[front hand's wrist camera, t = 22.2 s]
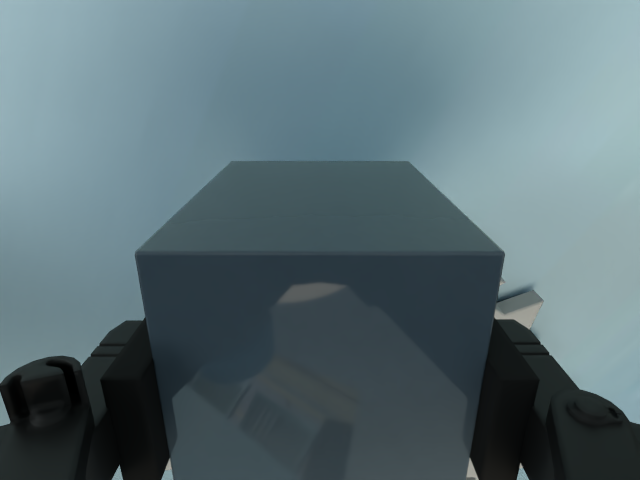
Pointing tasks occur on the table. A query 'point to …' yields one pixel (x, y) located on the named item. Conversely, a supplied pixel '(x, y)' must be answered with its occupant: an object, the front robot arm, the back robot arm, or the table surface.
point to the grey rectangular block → (319, 324)
